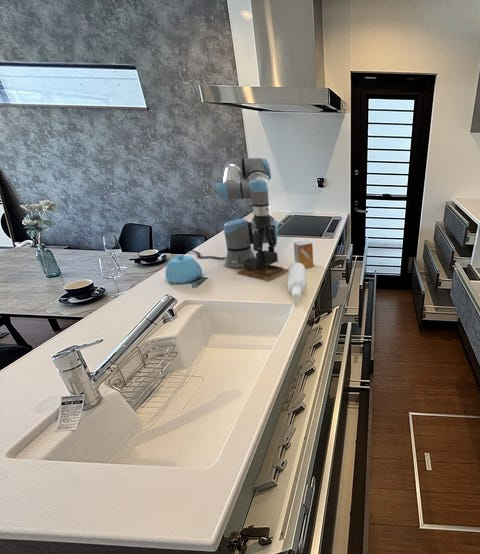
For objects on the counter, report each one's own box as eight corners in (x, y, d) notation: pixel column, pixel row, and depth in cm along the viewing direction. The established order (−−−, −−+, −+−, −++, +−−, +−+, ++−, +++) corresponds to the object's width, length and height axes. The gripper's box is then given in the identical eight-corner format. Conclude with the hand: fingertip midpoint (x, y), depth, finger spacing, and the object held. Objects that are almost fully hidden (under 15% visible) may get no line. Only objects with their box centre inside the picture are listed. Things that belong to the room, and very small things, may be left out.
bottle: (289, 277, 148) (287, 307, 122) (288, 262, 145) (285, 289, 118) (306, 276, 150) (307, 305, 123) (305, 261, 147) (306, 288, 120)
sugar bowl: (159, 281, 141) (152, 257, 136) (187, 270, 154) (182, 248, 149) (183, 286, 136) (177, 262, 131) (210, 274, 149) (205, 252, 144)
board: (237, 273, 152) (236, 262, 150) (258, 264, 164) (256, 254, 161) (269, 280, 144) (267, 270, 142) (288, 271, 156) (287, 261, 154)
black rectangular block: (256, 262, 149) (255, 253, 147) (265, 258, 154) (264, 249, 152) (269, 265, 146) (268, 255, 144) (277, 261, 151) (276, 252, 149)
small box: (299, 269, 159) (297, 245, 154) (295, 265, 164) (293, 242, 159) (313, 266, 163) (312, 243, 158) (309, 262, 168) (307, 240, 163)
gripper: (253, 219, 132) (259, 268, 141) (281, 212, 148) (285, 257, 157) (240, 217, 134) (247, 266, 143) (269, 210, 150) (274, 254, 159)
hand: (267, 261), depth 150 cm, fingers closed on black rectangular block, 6 cm apart
